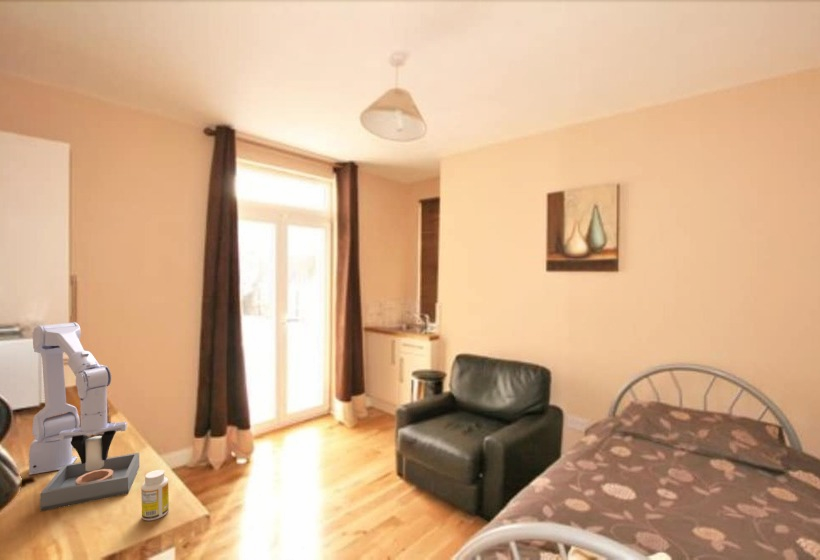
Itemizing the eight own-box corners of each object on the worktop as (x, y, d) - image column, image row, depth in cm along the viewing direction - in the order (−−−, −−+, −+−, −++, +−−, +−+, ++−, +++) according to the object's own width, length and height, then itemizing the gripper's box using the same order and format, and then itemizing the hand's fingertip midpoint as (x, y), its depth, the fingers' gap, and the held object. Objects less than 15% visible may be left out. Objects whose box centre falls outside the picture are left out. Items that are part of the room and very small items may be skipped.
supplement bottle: (164, 505, 100) (163, 465, 100) (172, 513, 96) (171, 472, 96) (138, 515, 96) (138, 474, 95) (145, 525, 92) (145, 482, 92)
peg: (83, 472, 106) (83, 442, 106) (88, 465, 109) (87, 437, 109) (101, 469, 107) (101, 440, 107) (105, 462, 111) (105, 434, 111)
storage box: (40, 511, 97) (40, 493, 97) (63, 480, 112) (63, 465, 112) (128, 493, 105) (128, 477, 105) (139, 467, 119) (139, 452, 119)
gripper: (54, 420, 101) (55, 472, 101) (122, 412, 108) (123, 461, 108) (64, 412, 108) (65, 461, 108) (128, 404, 114) (128, 450, 114)
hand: (94, 460), depth 108 cm, fingers closed on peg, 4 cm apart
